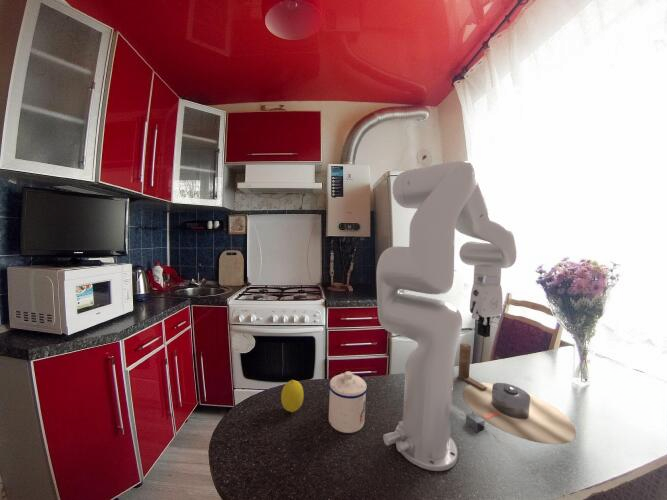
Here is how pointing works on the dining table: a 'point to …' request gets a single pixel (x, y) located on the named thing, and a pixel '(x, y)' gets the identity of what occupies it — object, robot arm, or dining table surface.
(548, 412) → the turntable
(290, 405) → the lemon
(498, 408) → the cover
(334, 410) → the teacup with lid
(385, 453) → the dining table surface
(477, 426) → the speckled grey block
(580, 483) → the dining table surface
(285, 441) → the dining table surface
